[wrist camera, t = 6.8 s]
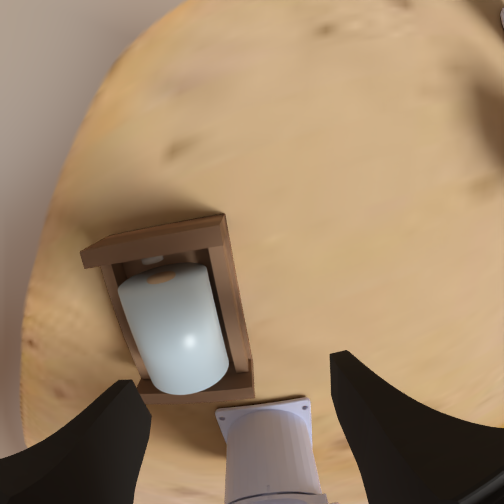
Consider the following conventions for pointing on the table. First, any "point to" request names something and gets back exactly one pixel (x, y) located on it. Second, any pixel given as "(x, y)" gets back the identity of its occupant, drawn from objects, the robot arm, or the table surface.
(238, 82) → the table surface
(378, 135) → the table surface
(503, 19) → the soap bottle
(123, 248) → the holder
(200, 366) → the roll
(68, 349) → the table surface
